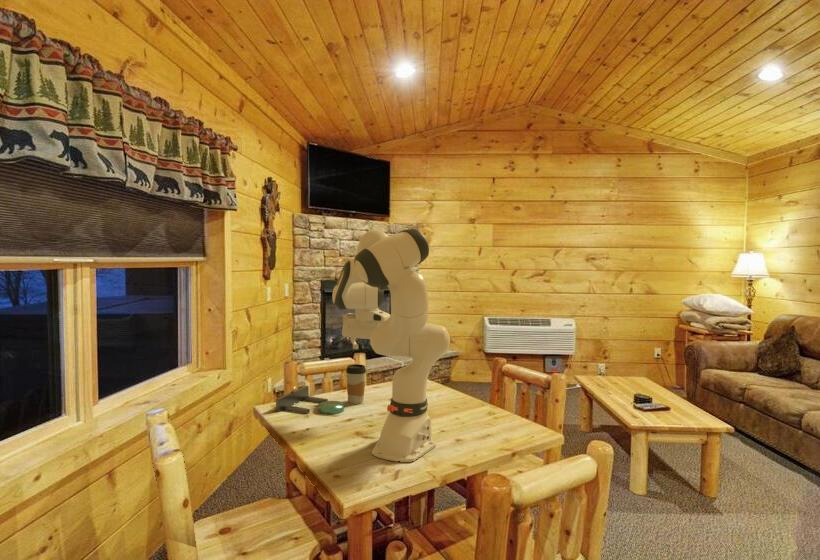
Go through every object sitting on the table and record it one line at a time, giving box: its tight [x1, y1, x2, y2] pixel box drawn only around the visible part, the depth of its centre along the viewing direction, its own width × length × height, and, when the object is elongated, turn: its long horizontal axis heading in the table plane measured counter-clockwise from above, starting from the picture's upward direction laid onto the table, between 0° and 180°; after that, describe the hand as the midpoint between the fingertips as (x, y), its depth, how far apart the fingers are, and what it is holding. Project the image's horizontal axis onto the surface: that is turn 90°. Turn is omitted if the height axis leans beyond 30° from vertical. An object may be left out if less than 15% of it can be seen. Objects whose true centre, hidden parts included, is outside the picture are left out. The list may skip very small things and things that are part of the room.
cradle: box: [275, 385, 329, 415], centre depth 182 cm, size 20×13×7 cm, turn 159°
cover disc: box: [317, 400, 345, 416], centre depth 178 cm, size 10×10×2 cm
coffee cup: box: [345, 363, 367, 405], centre depth 188 cm, size 8×8×15 cm
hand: (366, 350), depth 173 cm, fingers open, 8 cm apart
